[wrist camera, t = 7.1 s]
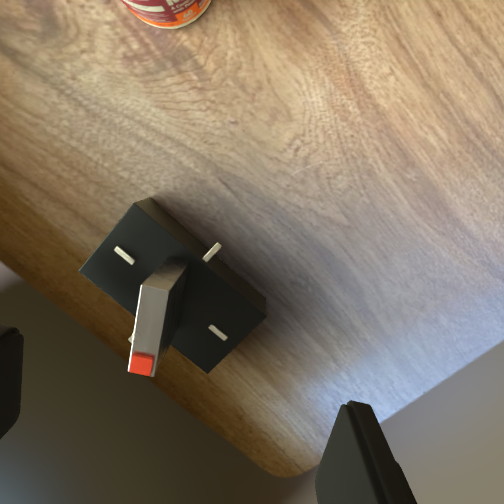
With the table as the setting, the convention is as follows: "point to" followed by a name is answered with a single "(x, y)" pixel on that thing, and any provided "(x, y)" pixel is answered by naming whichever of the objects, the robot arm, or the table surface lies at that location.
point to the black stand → (197, 285)
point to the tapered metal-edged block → (158, 315)
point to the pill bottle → (167, 11)
